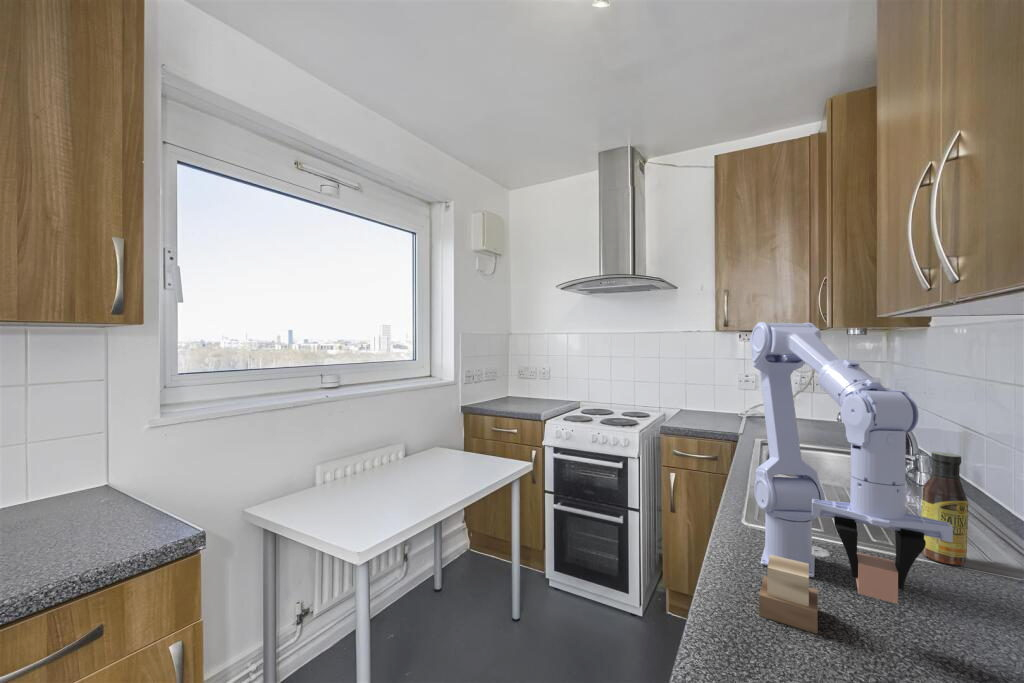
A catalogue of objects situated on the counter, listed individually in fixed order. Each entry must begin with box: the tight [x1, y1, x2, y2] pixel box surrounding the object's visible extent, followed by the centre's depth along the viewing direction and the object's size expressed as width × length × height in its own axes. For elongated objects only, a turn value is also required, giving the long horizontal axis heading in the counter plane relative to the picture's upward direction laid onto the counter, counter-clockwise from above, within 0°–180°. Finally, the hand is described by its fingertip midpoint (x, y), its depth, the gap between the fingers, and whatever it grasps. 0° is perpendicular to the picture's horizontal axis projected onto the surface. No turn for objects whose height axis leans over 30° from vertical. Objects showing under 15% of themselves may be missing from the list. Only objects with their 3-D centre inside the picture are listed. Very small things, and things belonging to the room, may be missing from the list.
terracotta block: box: [855, 552, 899, 605], centre depth 60 cm, size 4×4×4 cm
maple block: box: [767, 555, 810, 607], centre depth 65 cm, size 5×5×4 cm
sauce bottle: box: [921, 451, 969, 566], centre depth 83 cm, size 6×6×20 cm
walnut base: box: [758, 575, 819, 635], centre depth 65 cm, size 7×7×3 cm
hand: (876, 580), depth 60 cm, fingers closed on terracotta block, 4 cm apart
